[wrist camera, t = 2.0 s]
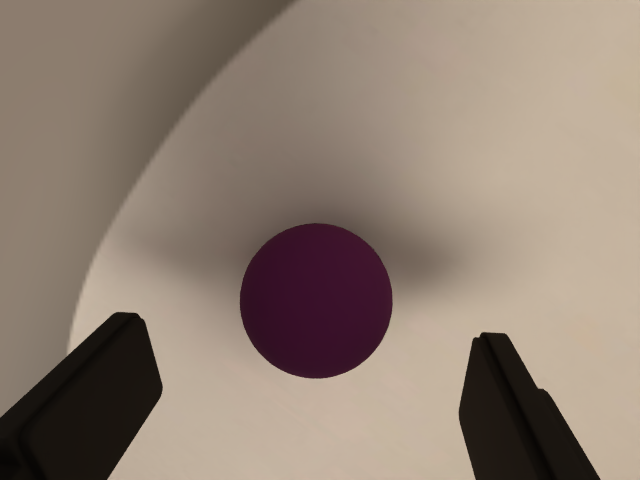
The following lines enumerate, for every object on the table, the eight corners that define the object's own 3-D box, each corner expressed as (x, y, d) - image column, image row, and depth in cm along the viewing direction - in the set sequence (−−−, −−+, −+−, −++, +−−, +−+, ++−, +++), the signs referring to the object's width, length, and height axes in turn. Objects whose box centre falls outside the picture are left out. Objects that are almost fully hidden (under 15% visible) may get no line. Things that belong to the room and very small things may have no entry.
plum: (282, 183, 13) (236, 242, 9) (409, 229, 13) (433, 312, 9) (250, 290, 16) (200, 382, 11) (359, 328, 16) (357, 435, 11)
